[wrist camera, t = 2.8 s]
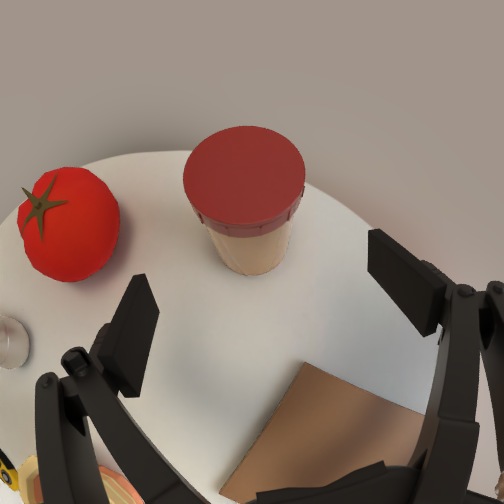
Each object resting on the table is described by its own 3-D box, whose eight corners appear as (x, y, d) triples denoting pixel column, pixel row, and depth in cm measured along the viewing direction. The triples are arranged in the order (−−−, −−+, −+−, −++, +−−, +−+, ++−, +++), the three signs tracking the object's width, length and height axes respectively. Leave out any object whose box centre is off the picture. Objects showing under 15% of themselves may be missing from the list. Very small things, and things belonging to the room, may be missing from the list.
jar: (300, 227, 29) (317, 157, 19) (266, 288, 28) (266, 244, 17) (239, 198, 31) (226, 122, 20) (203, 254, 29) (168, 195, 18)
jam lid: (319, 168, 20) (324, 151, 18) (268, 259, 18) (268, 247, 16) (227, 131, 21) (224, 113, 20) (168, 207, 19) (159, 192, 18)
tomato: (66, 206, 32) (17, 159, 22) (141, 192, 32) (99, 131, 21) (53, 295, 28) (-13, 267, 18) (133, 293, 28) (71, 258, 17)
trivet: (431, 418, 22) (435, 419, 21) (351, 534, 17) (353, 538, 17) (303, 361, 25) (305, 361, 24) (219, 490, 21) (218, 493, 20)
